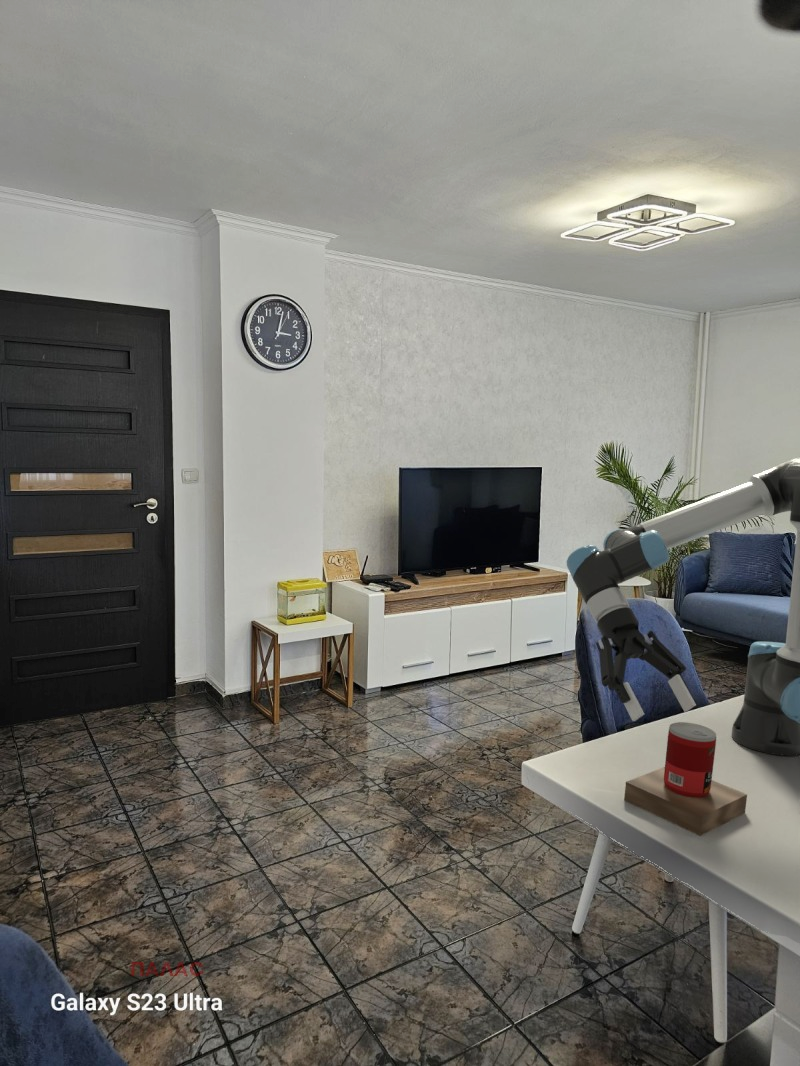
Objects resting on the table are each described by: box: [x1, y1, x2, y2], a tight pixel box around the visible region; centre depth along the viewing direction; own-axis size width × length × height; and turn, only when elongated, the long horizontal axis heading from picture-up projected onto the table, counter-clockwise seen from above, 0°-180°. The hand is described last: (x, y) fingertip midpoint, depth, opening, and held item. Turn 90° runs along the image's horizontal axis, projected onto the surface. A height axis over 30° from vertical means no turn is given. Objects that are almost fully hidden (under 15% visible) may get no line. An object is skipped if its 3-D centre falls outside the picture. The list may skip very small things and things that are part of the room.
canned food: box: [664, 721, 717, 797], centre depth 135 cm, size 8×8×11 cm
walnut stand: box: [623, 766, 748, 837], centre depth 136 cm, size 15×15×4 cm
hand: (665, 713), depth 139 cm, fingers open, 13 cm apart
